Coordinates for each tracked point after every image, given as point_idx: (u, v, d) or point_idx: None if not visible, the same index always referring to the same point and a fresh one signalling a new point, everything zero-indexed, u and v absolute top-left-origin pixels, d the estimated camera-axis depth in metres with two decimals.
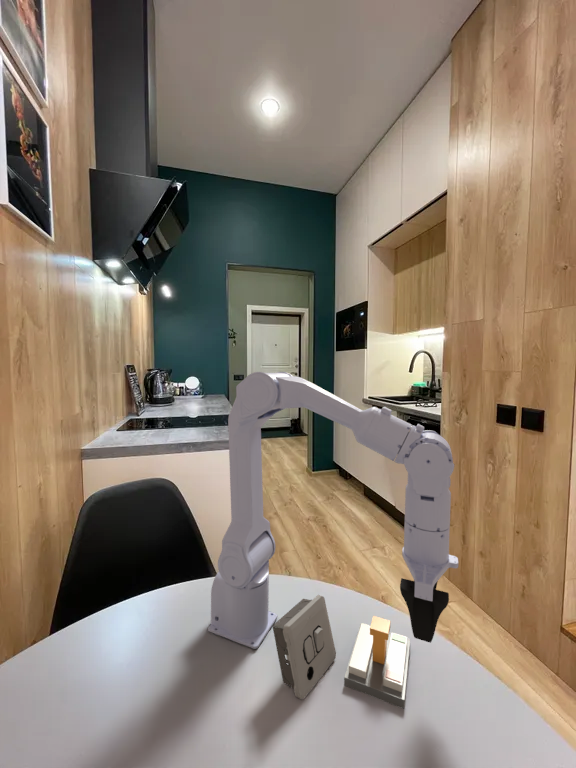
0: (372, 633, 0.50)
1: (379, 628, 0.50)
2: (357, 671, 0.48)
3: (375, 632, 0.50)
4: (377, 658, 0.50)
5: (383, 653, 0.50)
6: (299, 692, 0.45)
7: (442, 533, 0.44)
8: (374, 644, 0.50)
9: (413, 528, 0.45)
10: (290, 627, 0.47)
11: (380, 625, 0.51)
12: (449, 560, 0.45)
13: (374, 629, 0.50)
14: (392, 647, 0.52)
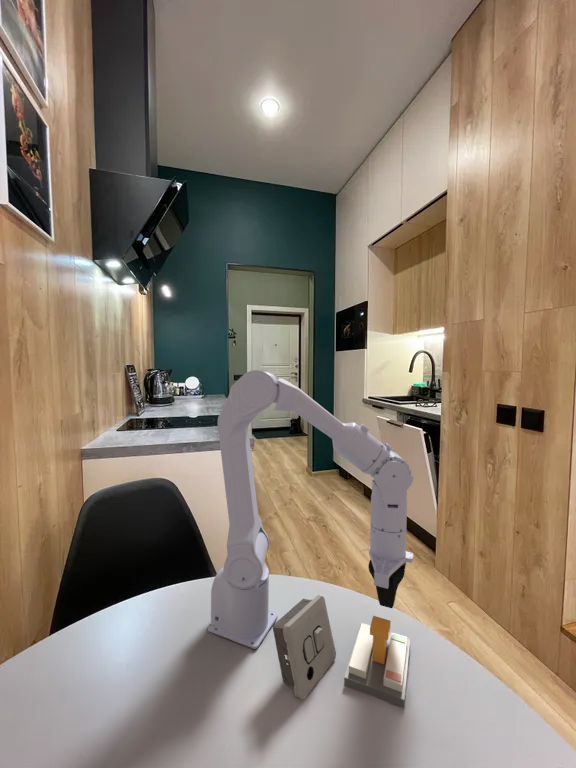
0: (372, 633, 0.50)
1: (379, 628, 0.50)
2: (357, 671, 0.48)
3: (375, 632, 0.50)
4: (377, 658, 0.50)
5: (383, 653, 0.50)
6: (299, 692, 0.45)
7: (399, 534, 0.54)
8: (374, 644, 0.50)
9: (376, 530, 0.55)
10: (290, 628, 0.47)
11: (380, 625, 0.51)
12: (406, 556, 0.55)
13: (374, 629, 0.50)
14: (392, 647, 0.52)
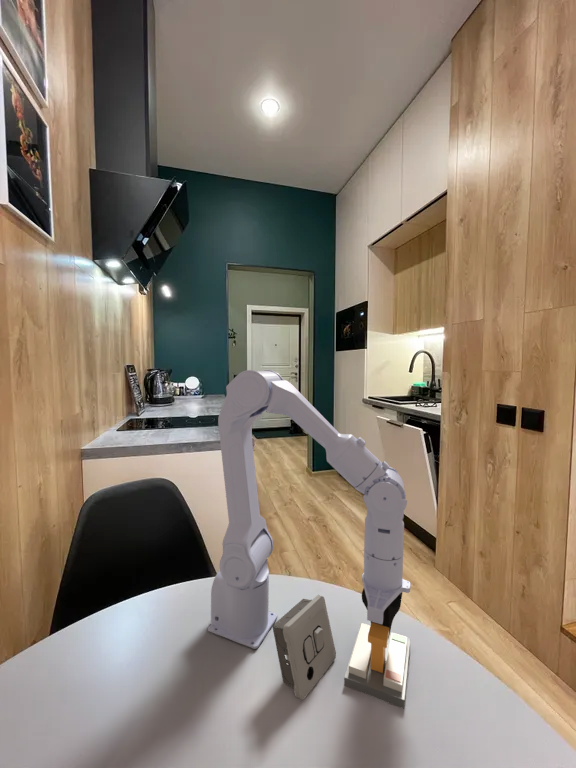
0: (370, 641, 0.49)
1: (377, 635, 0.49)
2: (357, 671, 0.48)
3: (373, 640, 0.49)
4: (375, 666, 0.49)
5: (381, 661, 0.48)
6: (299, 692, 0.45)
7: (395, 561, 0.49)
8: (372, 652, 0.49)
9: (370, 556, 0.50)
10: (290, 628, 0.47)
11: (378, 632, 0.49)
12: (402, 585, 0.50)
13: (372, 636, 0.49)
14: (392, 647, 0.52)
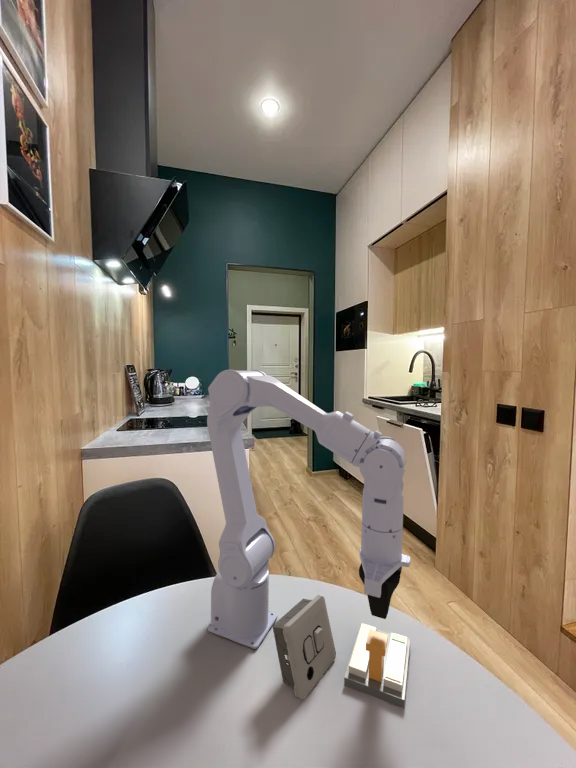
0: (368, 649, 0.47)
1: (376, 643, 0.47)
2: (357, 671, 0.48)
3: (371, 648, 0.47)
4: (373, 675, 0.47)
5: (380, 670, 0.47)
6: (299, 692, 0.45)
7: (394, 534, 0.47)
8: (370, 660, 0.47)
9: (368, 529, 0.48)
10: (290, 627, 0.47)
11: (377, 640, 0.48)
12: (401, 559, 0.48)
13: (370, 644, 0.47)
14: (392, 647, 0.52)
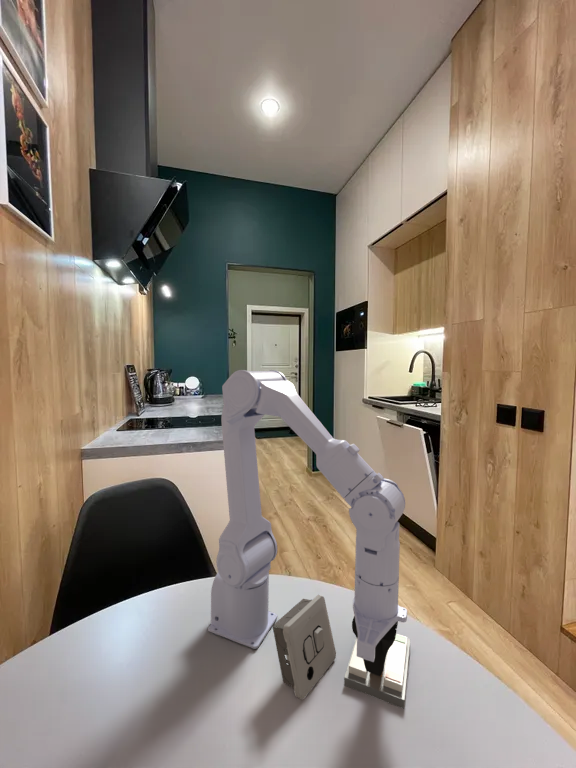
0: None
1: None
2: (357, 671, 0.48)
3: None
4: None
5: None
6: (299, 692, 0.45)
7: (389, 587, 0.43)
8: None
9: (361, 581, 0.44)
10: (290, 628, 0.47)
11: None
12: (398, 613, 0.44)
13: None
14: (392, 647, 0.52)
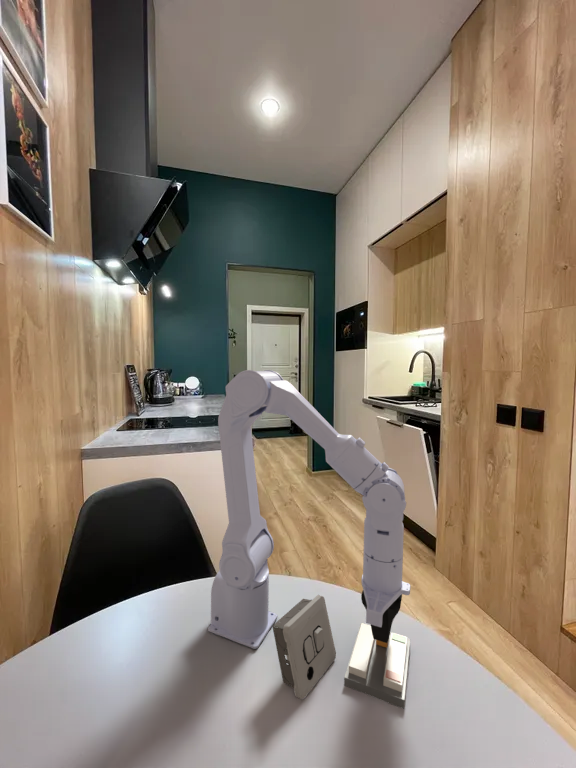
0: None
1: None
2: (357, 671, 0.48)
3: None
4: (380, 642, 0.53)
5: None
6: (299, 692, 0.45)
7: (394, 563, 0.49)
8: None
9: (369, 558, 0.50)
10: (290, 628, 0.47)
11: None
12: (402, 587, 0.50)
13: None
14: (392, 647, 0.52)
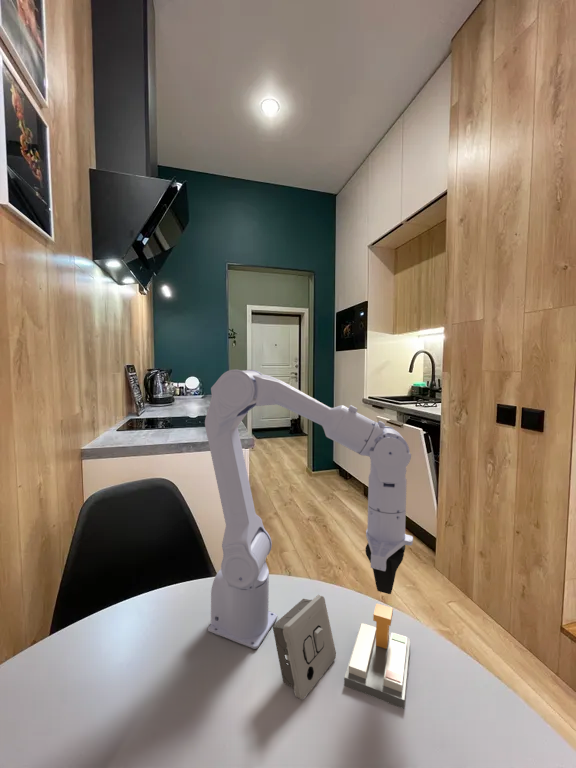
0: (375, 619, 0.53)
1: (382, 614, 0.53)
2: (357, 671, 0.48)
3: (378, 618, 0.53)
4: (380, 643, 0.53)
5: (386, 638, 0.53)
6: (299, 692, 0.45)
7: (397, 515, 0.51)
8: (377, 630, 0.53)
9: (373, 511, 0.52)
10: (290, 628, 0.47)
11: (383, 612, 0.54)
12: (405, 538, 0.52)
13: (377, 615, 0.53)
14: (392, 647, 0.52)
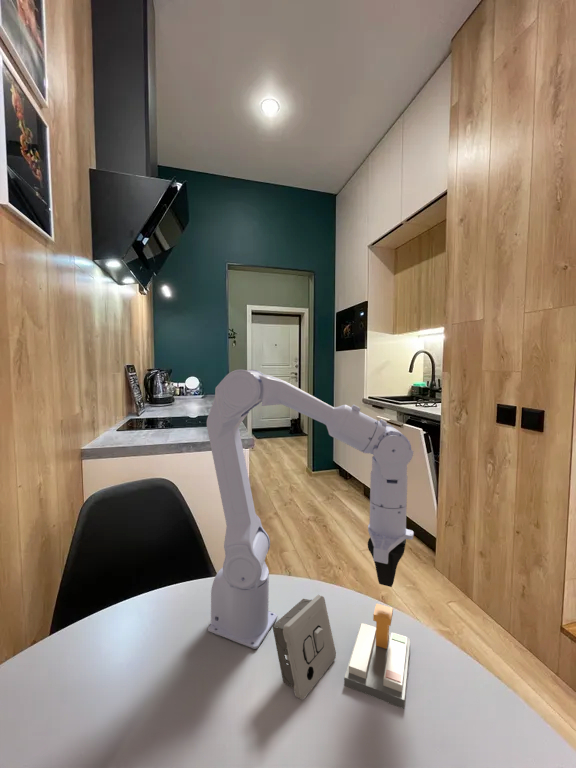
0: (375, 619, 0.53)
1: (382, 614, 0.53)
2: (357, 671, 0.48)
3: (378, 618, 0.53)
4: (380, 643, 0.53)
5: (386, 638, 0.53)
6: (299, 692, 0.45)
7: (399, 510, 0.53)
8: (377, 630, 0.53)
9: (375, 506, 0.54)
10: (290, 628, 0.47)
11: (383, 612, 0.54)
12: (406, 533, 0.54)
13: (377, 615, 0.53)
14: (392, 647, 0.52)
